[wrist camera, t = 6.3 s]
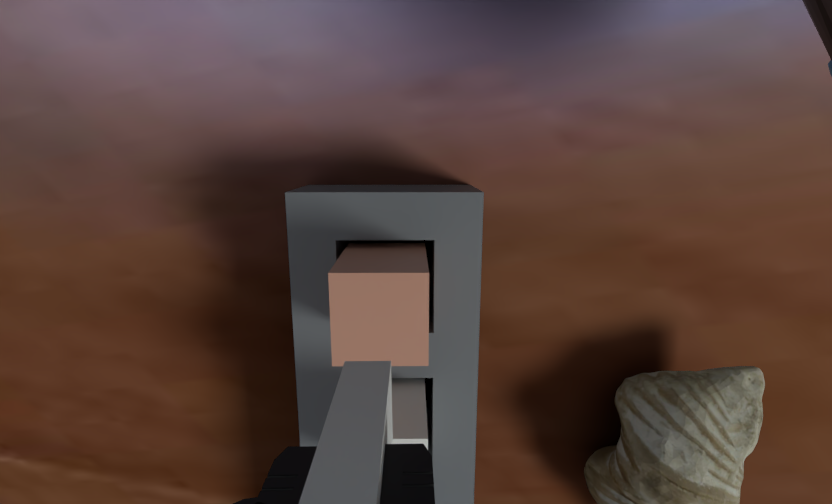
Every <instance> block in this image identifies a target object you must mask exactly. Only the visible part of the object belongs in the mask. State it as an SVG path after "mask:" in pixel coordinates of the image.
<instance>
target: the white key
mask: <svg viewBox="0 0 832 504" xmlns="http://www.w3.org/2000/svg"><path fill="white" fill-rule="evenodd" d="M391 379H392V424H393V440H392V444H424V445H425V447H426V448H427V450H428V429H427V412H426V394H425V378H391Z"/></svg>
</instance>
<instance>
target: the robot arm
mask: <svg viewBox="0 0 832 504" xmlns="http://www.w3.org/2000/svg"><path fill="white" fill-rule="evenodd" d="M803 2H804V4H805V6H806V9H807V11H808V13H809V15H810V17H811V19H812V21H813V23H814V25H815V27H816V29H817V31H818V33H819V35H820V37H821V39H822V41H823V43H824V46H825V48H826V50H827V52H828V54H829V56H830V58H831V60H830V62H829V63H828V67H829V70H830V74H831V76H832V0H803ZM392 440H393V424H392V379H391V361H345V362H344V365H343V368H342V371H341V375H340V378H339V381H338V384H337V387H336V390H335V393H334V396H333V399H332V402H331V405H330V408H329V412H328V415H327V418H326V421H325V424H324V427H323V430H322V433H321V436H320V439H319V442H318V446H299V447H287V448H286V449H285V450H284V451H283V452H282V453H281V454H280V455H279V456H278V457H277V458H276V459H275V460H274V462H273V464H272V466H271V469H270V471H269V473H268V477H267V478H266V480H265V482H264V484H263V487H262V491H260V493H259V495H258V497H255V498H249V499H243V500H241V501H238V502H236V503H234V504H435V493H434V478H433V462H432V455H431V454H430V453H429V451H428V450H427V448H426V447H425V445H424V444H392Z"/></svg>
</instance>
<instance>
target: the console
mask: <svg viewBox="0 0 832 504" xmlns="http://www.w3.org/2000/svg"><path fill="white" fill-rule="evenodd" d="M483 197H484V192H482V191H480V190H479V189H477V188H475V187H473V186H472V185H306V186H303V187H300V188H297V189H294V190H291V191H287V192H285V203H286V220H287V236H288V253H289V269H290V286H291V303H292V319H293V336H294V352H295V369H296V385H297V402H298V419H299V435H300V446H318V442H319V439H320V436H321V433H322V430H323V427H324V424H325V421H326V418H327V415H328V412H329V408H330V405H331V402H332V399H333V396H334V393H335V390H336V387H337V384H338V381H339V378H340V375H341V371H342V368H343V366H332V354H331V330H330V306H329V282H328V272H329V271H330V270H331V268H332V267H333V265H334V264H335V262H336V261H337V259H338V258H339V257H340V255H341V254H342V252H343V251H344V249H345V248H346V246H347V245H348V243H350V240H430V301H429V366H391V378H429V407H426V412H427V429H428V451H429V453H430V454H431V455H432V462H433V478H434V493H435V504H474V480H475V448H476V417H477V385H478V354H479V323H480V291H481V260H482V229H483Z"/></svg>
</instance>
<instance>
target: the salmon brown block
mask: <svg viewBox="0 0 832 504" xmlns="http://www.w3.org/2000/svg"><path fill="white" fill-rule="evenodd" d="M328 282H329V306H330V330H331V354H332V366H343V365H344V362H345V361H391V366H429V268H428V261H427V254H426V247H425V243H348V245H347V246H346V248H345V249H344V251H343V252H342V254H341V255H340V257H339V258H338V259H337V261H336V262H335V264H334V265H333V267H332V268H331V270H330V271H329V272H328Z"/></svg>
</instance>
